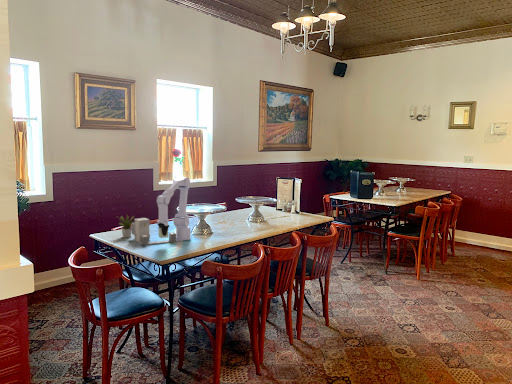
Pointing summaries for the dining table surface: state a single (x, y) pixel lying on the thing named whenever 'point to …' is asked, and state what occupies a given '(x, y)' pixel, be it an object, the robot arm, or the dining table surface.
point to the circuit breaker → (140, 228)
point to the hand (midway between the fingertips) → (163, 234)
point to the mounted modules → (145, 238)
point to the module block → (162, 234)
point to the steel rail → (157, 242)
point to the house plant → (126, 227)
